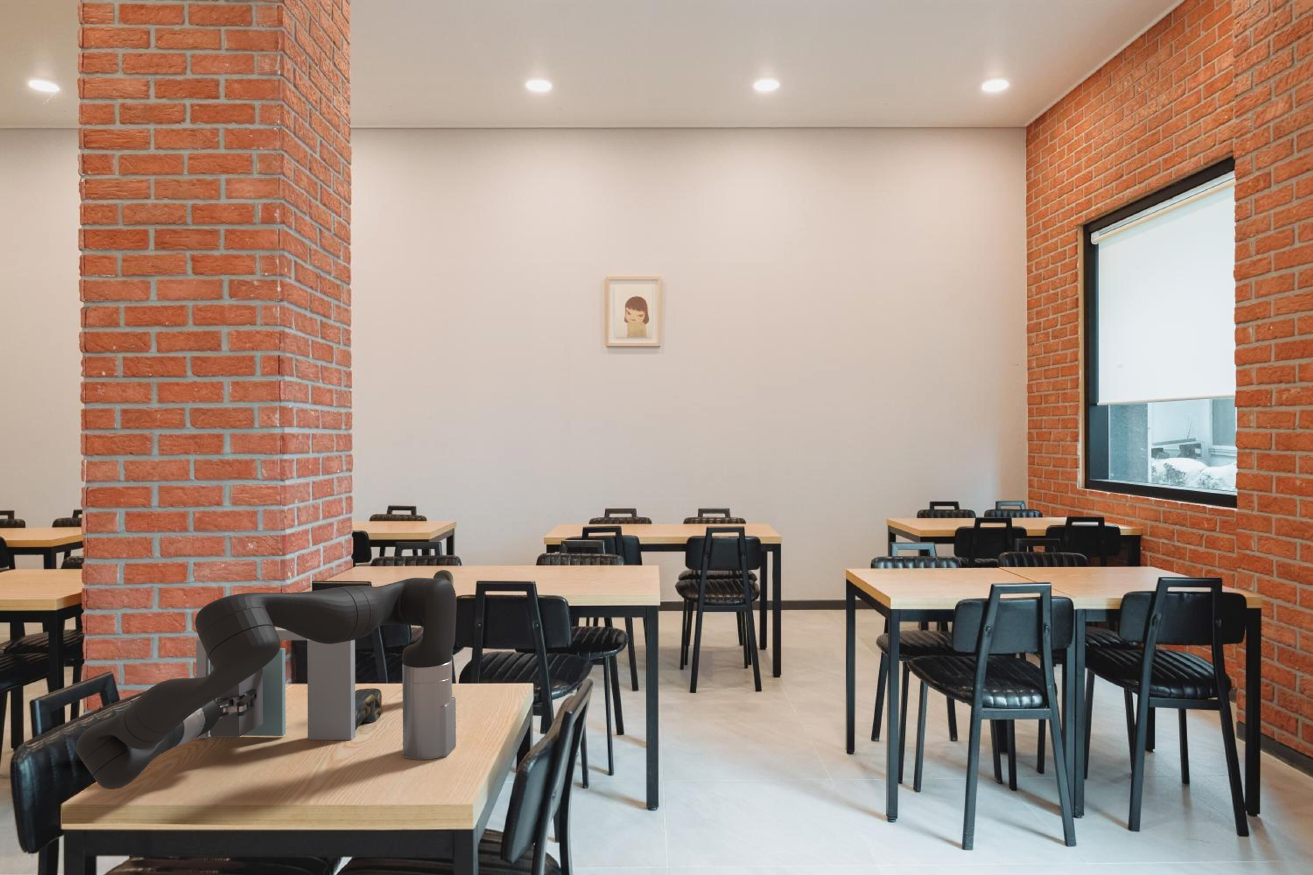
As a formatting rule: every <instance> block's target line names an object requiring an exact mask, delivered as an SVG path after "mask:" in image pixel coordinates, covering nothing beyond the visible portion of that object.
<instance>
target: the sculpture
mask: <svg viewBox="0 0 1313 875" xmlns="http://www.w3.org/2000/svg"><path fill="white" fill-rule="evenodd" d="M382 697H383V696H382V691H381V690H380V688H359V689H355V732H356V730H357V729H358V727H360V725H361V723H373V722H376V721H378V719H379V717H380V716H381V715H383V705H382V702H383V701H382V700H383V699H382Z"/></svg>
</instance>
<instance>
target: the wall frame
mask: <svg viewBox="0 0 1313 875" xmlns="http://www.w3.org/2000/svg"><path fill="white" fill-rule="evenodd" d="M275 629H276V631H277V633H278V636H279V639H280V641H307V648H306V649H307V651H306V652H307V653H306V654H307V656H306V657H307V740H308V741H309V740H311V741H315V740H316V741H317V740H320V741H321V740H324V741H325V740H326V741H335V740H337V741H352V740H353V739H354V738H356V731H355V691H356V640H351V641H346V642H341V643H336V644H323V643H318V642H315V641H312V640H309V639H307V638H304V637H302V636H299V635H297V634H295V633H292V632H290V631H288V630H285V629H282V628H279V627H275ZM195 642H196V643H195V644H196V646H195V648H196V649H195V650H196V652H195V653H196V654H195V655H196V656H195V666H196V670H195V671H196V672H195V676H196V677H195V678H201V677H206V676H208V675H209V674H210V660H209V658H208V656H207V654H206V652H205V650H204V647H203V645H202V643H201V640H200V638H198V639H196V641H195ZM207 737H208V738H210V737H211V735H210V731H208V732H207V733H205V734H203V735H201V736H199V737H197V738H195V739H196V740H197V739H203V738H206V739H208V738H207Z"/></svg>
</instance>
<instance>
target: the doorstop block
mask: <svg viewBox="0 0 1313 875" xmlns="http://www.w3.org/2000/svg"><path fill="white" fill-rule="evenodd" d="M250 689H256V691H257V699H256V700H254V708H253V709H251V710H250V711H249V712H247V713H246V714H245V715H243V716H237V712H236V713H233V714H230V715H226V716H223V718H221V719H218V720H217V722H216V724H215V725H214V727H213V728H212V729H211V736H210V737H211V738H240V737H243V736H242V735H244V734H246V733H248V732H249V731H251V730H253V729H255V728H257V727H258V726H260V725H262V724H263V668H262V669H260V670H259V671H257V672H256V673H254V674H253V675H251V676H250V677H248V678H247V679H245V680H244V681H242V682H241V683H239V684H238V685H236V686H235V687H233V688H232V689H230V690H229V691H227V692H226V693H224V694H222V695H221V696H225V695H229V694H236V695H238V694H242V693H244V692H246V691H248V690H250ZM221 696H219V697H221ZM227 700H228V701H229V699H227ZM237 700H240V698H239V699H237Z"/></svg>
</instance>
